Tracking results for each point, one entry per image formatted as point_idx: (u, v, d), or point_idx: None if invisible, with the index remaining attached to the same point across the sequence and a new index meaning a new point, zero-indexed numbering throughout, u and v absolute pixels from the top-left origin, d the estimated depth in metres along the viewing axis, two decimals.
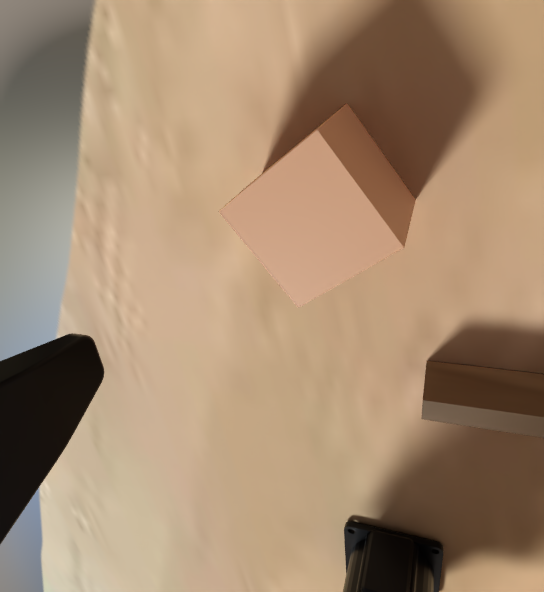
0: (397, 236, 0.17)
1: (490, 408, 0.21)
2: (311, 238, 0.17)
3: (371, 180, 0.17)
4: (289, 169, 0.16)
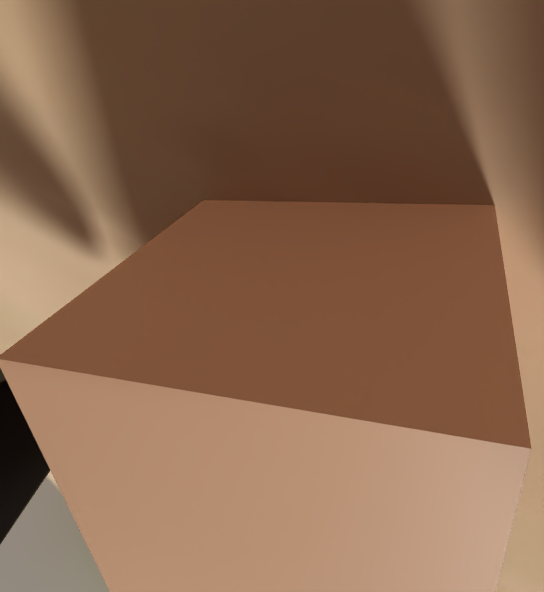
0: (465, 421, 0.04)
1: None
2: (281, 575, 0.05)
3: (278, 305, 0.05)
4: (77, 472, 0.06)
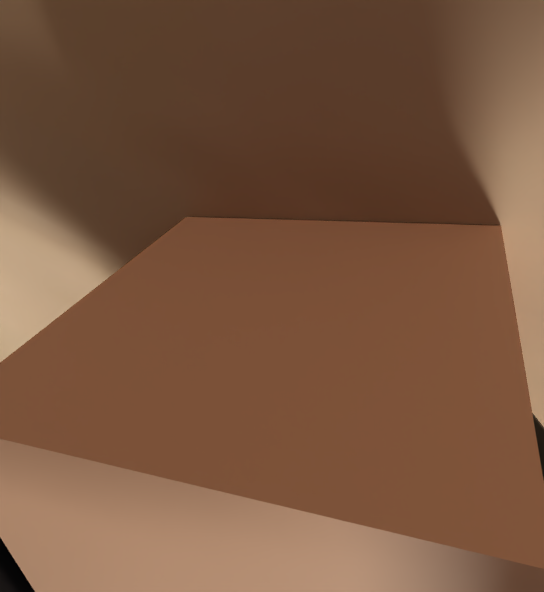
0: (474, 527, 0.03)
1: None
2: None
3: (256, 355, 0.05)
4: (29, 542, 0.05)
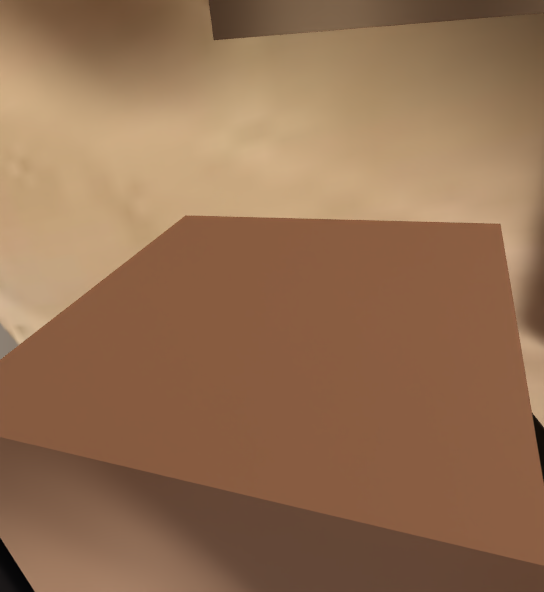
0: (472, 524, 0.03)
1: None
2: None
3: (254, 352, 0.05)
4: (27, 540, 0.05)
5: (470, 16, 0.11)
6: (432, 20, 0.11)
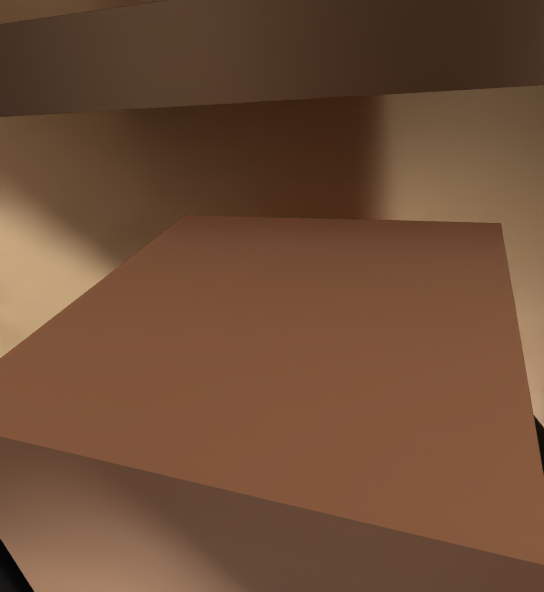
0: (474, 523, 0.03)
1: None
2: None
3: (255, 351, 0.05)
4: (26, 540, 0.05)
5: (446, 85, 0.05)
6: (367, 92, 0.05)
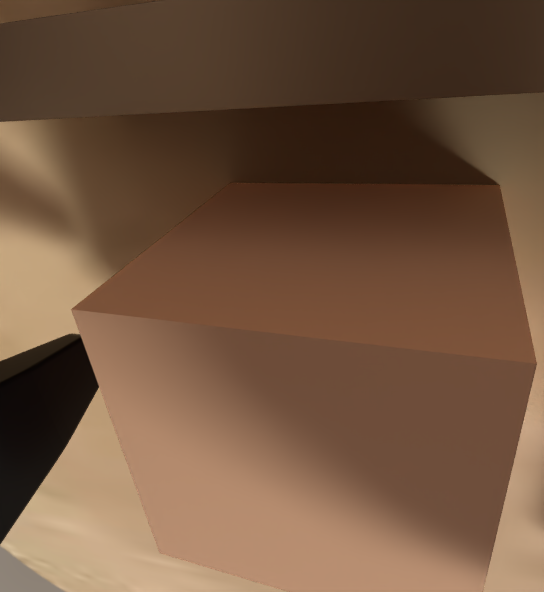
0: (481, 346, 0.04)
1: None
2: (316, 500, 0.06)
3: (314, 266, 0.06)
4: (135, 414, 0.06)
5: (449, 91, 0.05)
6: (365, 98, 0.05)
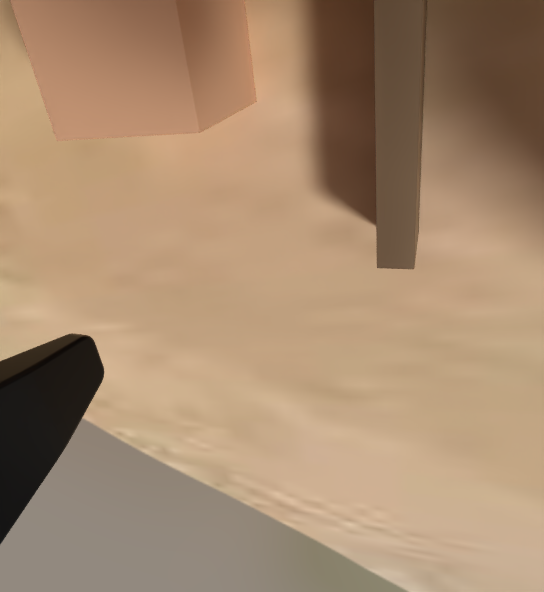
0: None
1: (378, 182, 0.15)
2: (113, 44, 0.13)
3: None
4: (28, 15, 0.13)
5: None
6: None
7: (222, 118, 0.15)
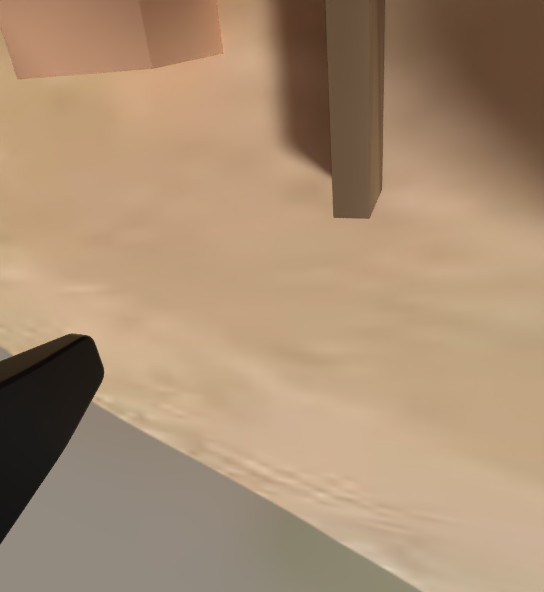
0: None
1: (332, 128, 0.15)
2: None
3: None
4: None
5: None
6: None
7: (180, 60, 0.15)
